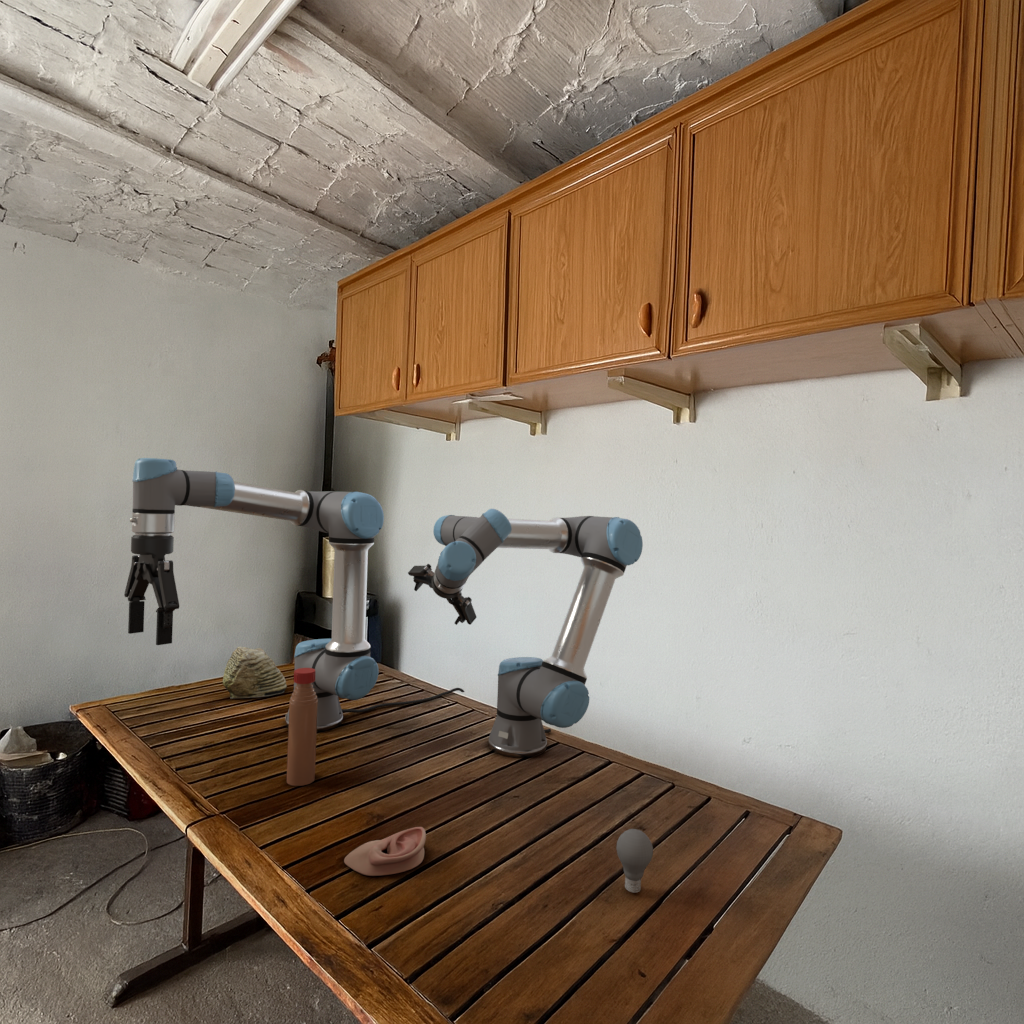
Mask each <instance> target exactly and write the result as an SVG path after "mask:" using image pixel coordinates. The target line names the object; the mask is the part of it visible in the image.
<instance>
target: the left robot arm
mask: <svg viewBox="0 0 1024 1024" xmlns="http://www.w3.org/2000/svg"><path fill="white" fill-rule="evenodd" d="M132 473H133V474H132V511H131V512H132V515H131V517H130V518H129V522H130V523H131V532H132V533H134V534H132V536H131V537H130V538H131V539H130V552H131V553H132V556H131V566H130V570H129V573H128V578H127V581H126V587H125V590H124V593H123V596H124V598H127V601H128V621H127V622H128V626H127V627H128V628H127V633H128V634H129V635H131V634H132V635H133V634H139V633H144V629H145V601H146V600H147V599H146V596H145V594H146V592H147V590H148V588H149V586H150V585H151V586H152V589H153V593H154V596H155V599H156V603H157V606H158V607H157V609H156V610H155V613H156V630H155V631H156V633H155V645H156V646H163V645H170V644H173V627H174V625H173V623H174V612H175V610H179V609H180V602H179V595H178V591H177V585H176V578H175V574H174V573H175V572H174V561H173V560H171V559H170V560H166V557H165V556H166V555H170V554H173V552H174V543H175V542H174V541H175V537H174V535H172V534H173V533H174V532H175V522H176V521H175V518H176V510H175V509H176V506H179V507H180V506H181V507H182V506H187V507H194V508H195V507H196V508H203V509H209V510H214V511H215V510H216V511H223V512H229V513H235V514H243V515H249V516H255V517H262V518H269V519H274V520H275V519H276V520H283V521H289V522H290V524H291V525H293V526H296V527H304V528H307V529H311V530H315V531H318V532H321V533H325V534H328V545H330V546H331V547H332V548H333V550H334V553H333V554H334V560H333V584H332V585H333V587H332V614H331V615H332V616H331V619H332V620H331V638H318V639H308V640H304V641H300V642H299V643H297V645H296V646H295V650H294V655H293V657H294V670H296V669H300V668H313V669H315V672H316V675H315V681H314V682H313V683H312V685H313V688H314V689H315V692H316V695H317V699H318V709H317V733H318V732H325V731H329V730H332V729H335V728H337V727H339V726H340V725H342V723H343V722H344V714H343V713H354V714H360V713H367V712H369V711H373V710H375V709H379V708H383V707H384V708H385V707H394V706H405V705H413V704H419V703H425V702H428V701H432V700H436V699H438V698H441V697H443V696H446V695H449V694H452V693H453V692H456V691H457V692H461V693H465V690H464V689H463V688H460V687H454V688H452V689H450V690H447V691H443V692H441V693H438V694H435V695H432V696H430V697H429V696H428V697H426V698H425V697H424V698H419V699H414V700H408V701H407V700H405V701H397V702H396V701H395V702H394V701H393V702H385V703H379V704H375V705H372V706H369V707H366V708H362V709H361V708H360V709H353V708H342V706H341V702H340V699H339V698H341V699H342V700H343V699H344V700H348V701H349V700H350V701H357V700H360V699H362V698H364V697H365V696H367V695H368V694H370V692H371V690H372V689H374V687H375V685H376V683H377V681H378V678H379V674H380V673H379V671H380V670H379V669H380V668H379V665H378V663H377V662H376V660H375V659H374V658H373V657H371V648H372V647H371V644H370V642H368V640H366V621H367V619H366V618H367V590H368V589H367V588H368V557H369V550H370V548H371V547H372V546H374V544H375V536H377V535H378V534H379V533H380V530H382V529H383V526H384V522H385V515H384V510H383V507H382V505H381V503H380V502H379V501H378V500H377V498H376V497H375V496H373V495H371V494H370V493H366V492H361V491H337V490H336V491H335V490H330V491H329V490H328V491H311V490H304V489H298V490H296V491H294V492H293V491H288V490H284V489H278V488H272V487H266V486H261V485H257V484H250V483H245V482H239V481H234V478H233V477H232V476H231V474H229V473H227V472H218V470H217V471H207V470H206V471H205V470H183V469H178V467H177V462H176V460H174V459H167V458H157V457H156V458H154V457H140V458H137V459H136V460H135V462H134V467H133V472H132ZM294 670H293V671H294ZM296 685H297V683H295V682H294V681H293V690H294V689H295V686H296ZM284 718H285V726H286V728H288V726H289V709H288V711H287V712H286V714H285V717H284Z"/></svg>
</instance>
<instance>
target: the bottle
mask: <svg viewBox="0 0 1024 1024" xmlns="http://www.w3.org/2000/svg"><path fill="white" fill-rule="evenodd" d="M289 698H290V699H289V701H288V703H289V705H288V710H289V726H288V727H287V731H288V732H287V752H286V753H287V755H286V784H288V785H289V786H293V787H303V786H307V785H310V784H312V783H313V782H314V781H315V780H316V760H317V759H316V758H317V756H316V755H317V737H318V736H317V733H318V732H317V709H318V699H317V695H316V692H315V689H314V688H313V685H312V683H309V684H297V685H296V686H295V689H294V688H293V692H292V693H291V696H290V697H289Z"/></svg>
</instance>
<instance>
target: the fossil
mask: <svg viewBox="0 0 1024 1024" xmlns="http://www.w3.org/2000/svg"><path fill="white" fill-rule="evenodd" d="M222 676H223V677H222V685H223V687H224V688H225V690H226V691H228V693H229V698H230V699H250V698H264V697H271V696H275V695H281V694H284V693H285V691H286V689H287V687H288V686H287V680H286V678H285V676H284V674H283V673H282V672H281V669H279V668H278V667H277V665H276V663H275V662H274V660H273V659H272V658H271V657H270V656H269V655H268V654H267V653H266V652H265V650H264V649H263V648H260V647H258V648H251V647H247V646H246V647H245V646H238V647H237V648H236V649H235V650H233V651H232V653H231V656H230V657H229V659H228V660H227V663H226V666H225V668H224V671H223V675H222Z"/></svg>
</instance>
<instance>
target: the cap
mask: <svg viewBox="0 0 1024 1024" xmlns="http://www.w3.org/2000/svg"><path fill="white" fill-rule="evenodd" d="M315 675H316V672H315V669H313V668H300V669H296V670H293V683H294V682H295V683H297V684H309V683H313V682H314V681H315Z"/></svg>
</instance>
